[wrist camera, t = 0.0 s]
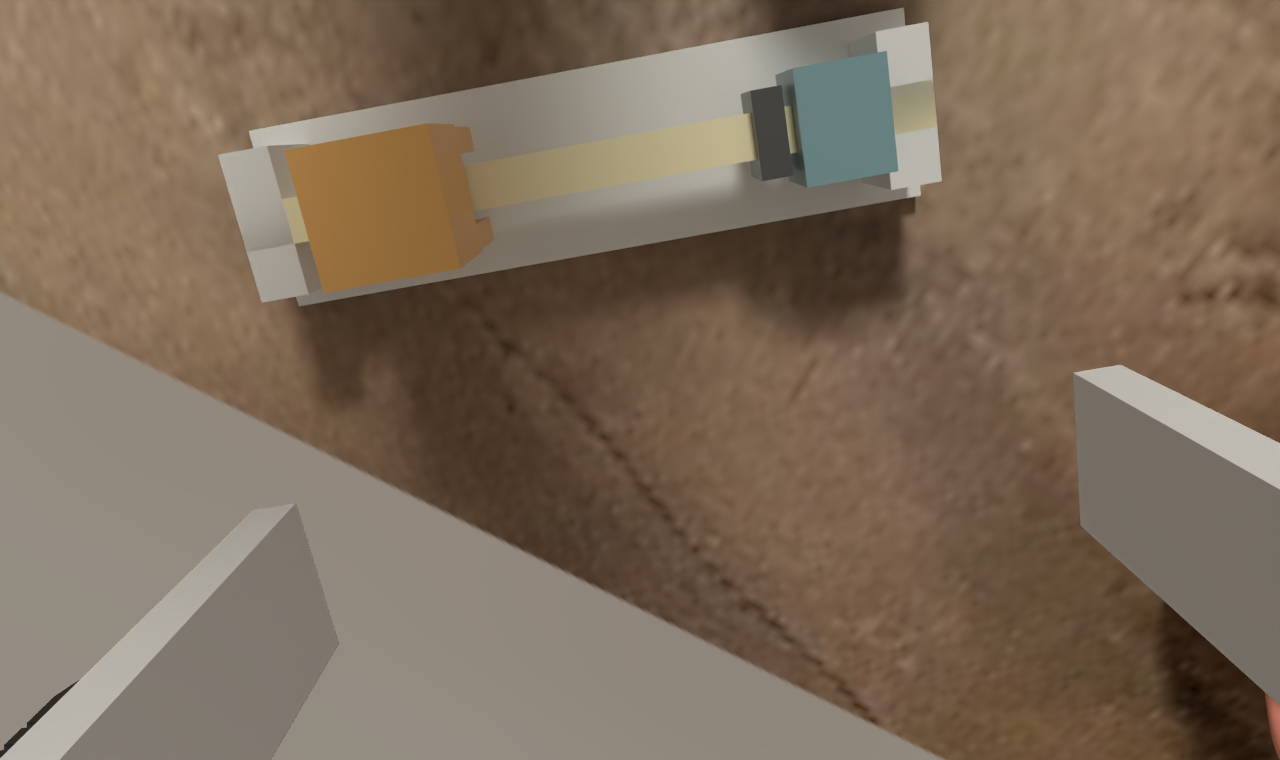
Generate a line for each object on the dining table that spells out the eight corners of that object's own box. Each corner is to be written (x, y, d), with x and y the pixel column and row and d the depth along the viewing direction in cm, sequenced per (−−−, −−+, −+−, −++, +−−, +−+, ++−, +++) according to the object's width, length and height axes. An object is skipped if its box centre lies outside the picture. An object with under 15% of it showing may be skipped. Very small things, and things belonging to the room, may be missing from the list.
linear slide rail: (256, 130, 40) (181, 131, 34) (898, 9, 39) (950, -15, 32) (304, 303, 42) (243, 335, 36) (915, 194, 41) (967, 206, 34)
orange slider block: (353, 145, 38) (283, 150, 30) (468, 124, 38) (426, 123, 30) (383, 261, 39) (323, 293, 32) (494, 241, 39) (460, 268, 32)
